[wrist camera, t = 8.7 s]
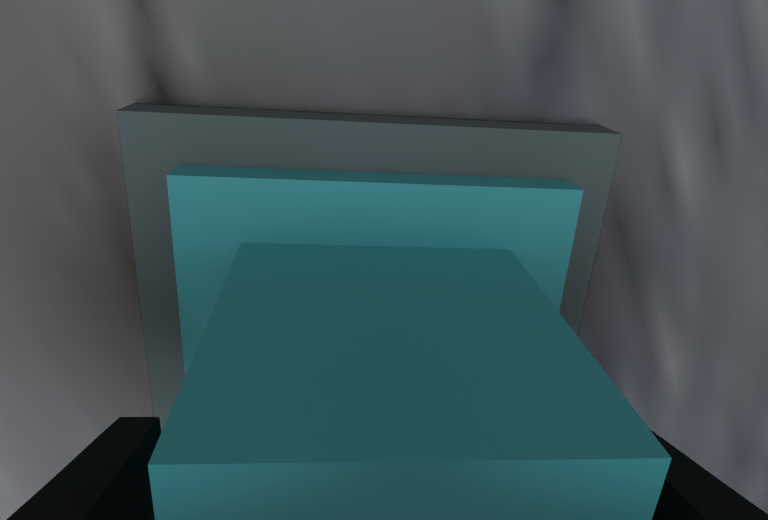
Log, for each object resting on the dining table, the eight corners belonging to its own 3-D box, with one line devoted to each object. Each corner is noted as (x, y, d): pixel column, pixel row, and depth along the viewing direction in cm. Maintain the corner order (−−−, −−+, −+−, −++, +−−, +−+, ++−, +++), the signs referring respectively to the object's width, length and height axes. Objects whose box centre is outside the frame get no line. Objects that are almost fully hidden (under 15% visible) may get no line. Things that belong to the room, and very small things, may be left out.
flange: (568, 179, 12) (827, 354, 6) (512, 473, 15) (640, 796, 9) (177, 165, 11) (-23, 349, 5) (203, 477, 14) (101, 836, 8)
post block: (600, 126, 12) (754, 186, 8) (529, 474, 16) (605, 650, 12) (133, 103, 12) (1, 157, 7) (174, 479, 15) (107, 674, 11)
